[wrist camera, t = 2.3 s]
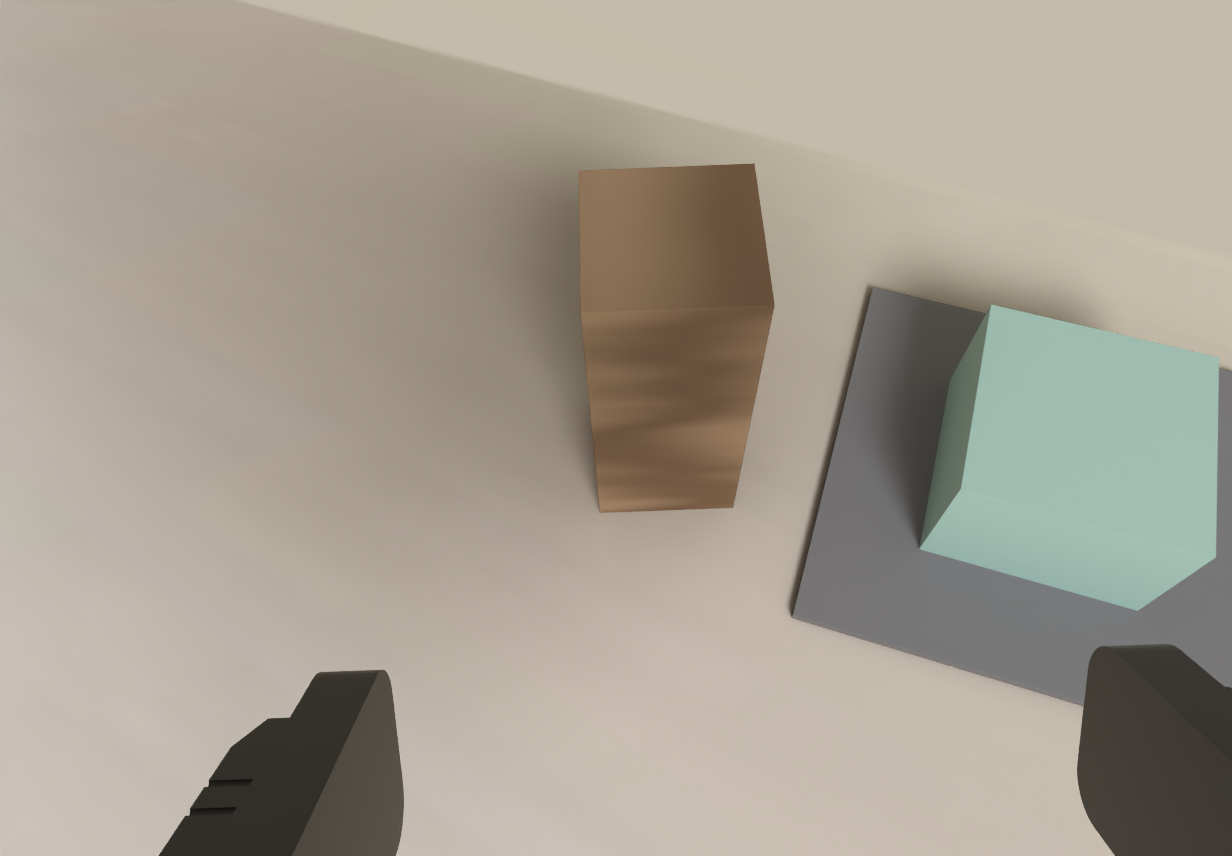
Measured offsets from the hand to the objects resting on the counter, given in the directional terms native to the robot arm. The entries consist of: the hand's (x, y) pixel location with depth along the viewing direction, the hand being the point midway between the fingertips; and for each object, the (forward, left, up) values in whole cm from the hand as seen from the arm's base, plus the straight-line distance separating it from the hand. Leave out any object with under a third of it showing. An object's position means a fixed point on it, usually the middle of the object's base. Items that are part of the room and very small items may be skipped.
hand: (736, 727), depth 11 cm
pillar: (-4, +11, -14) cm, 18 cm away
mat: (+7, +13, -14) cm, 20 cm away
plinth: (+7, +13, -14) cm, 20 cm away
